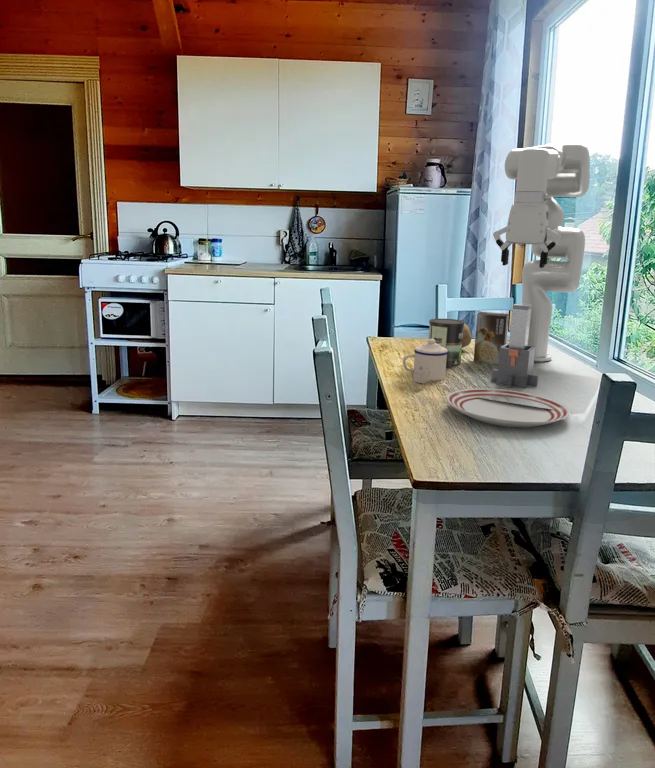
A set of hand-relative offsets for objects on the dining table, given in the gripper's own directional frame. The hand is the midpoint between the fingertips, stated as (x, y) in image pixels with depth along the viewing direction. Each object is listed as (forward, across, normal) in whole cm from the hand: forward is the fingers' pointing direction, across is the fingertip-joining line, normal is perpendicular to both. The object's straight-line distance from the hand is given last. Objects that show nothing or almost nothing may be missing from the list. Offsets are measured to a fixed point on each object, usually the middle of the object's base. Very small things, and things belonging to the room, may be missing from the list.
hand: (523, 266), depth 171 cm
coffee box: (+33, +11, -16) cm, 38 cm away
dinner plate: (+31, -7, +33) cm, 46 cm away
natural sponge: (+33, +27, -34) cm, 55 cm away
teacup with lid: (+32, +21, +15) cm, 41 cm away
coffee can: (+32, +22, -5) cm, 39 cm away
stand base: (+32, -2, +7) cm, 33 cm away
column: (+30, -2, +7) cm, 31 cm away
